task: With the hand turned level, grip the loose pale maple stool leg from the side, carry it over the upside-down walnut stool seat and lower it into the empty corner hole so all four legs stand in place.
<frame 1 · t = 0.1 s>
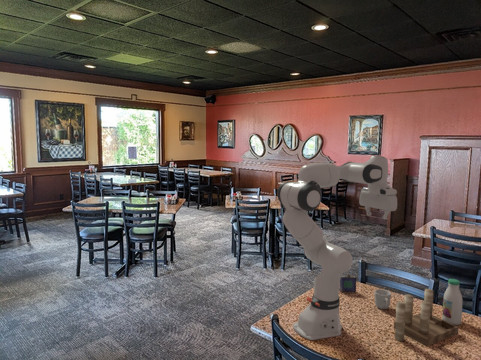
hand: (376, 217, 169), 48 cm above the table, tool pointing down, fingers open, 8 cm apart
loose leg: (399, 338, 149), on the table
flask: (347, 291, 197), on the table
milk bottle: (451, 321, 164), on the table
cup: (383, 308, 177), on the table
stool: (425, 330, 155), on the table
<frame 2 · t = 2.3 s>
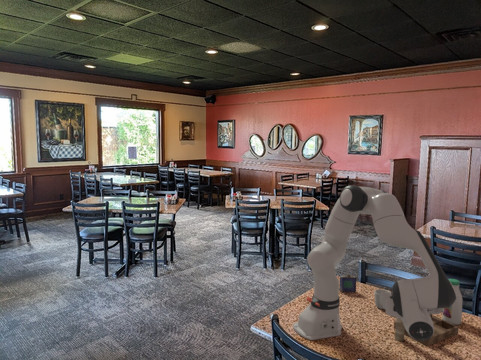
hand: (406, 293, 135), 25 cm above the table, tool horizontal, fingers open, 8 cm apart
nothing on the table moved.
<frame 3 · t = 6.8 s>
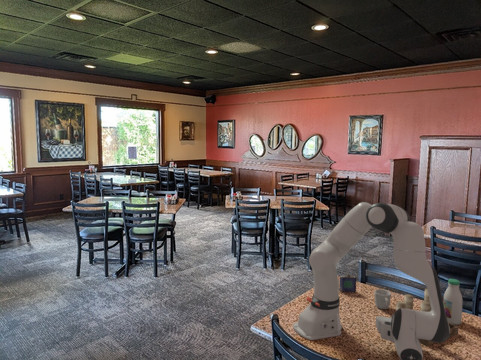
hand: (400, 317, 149), 9 cm above the table, tool horizontal, fingers closed on loose leg, 4 cm apart
loose leg: (399, 338, 149), on the table, touching gripper
everything else where it was.
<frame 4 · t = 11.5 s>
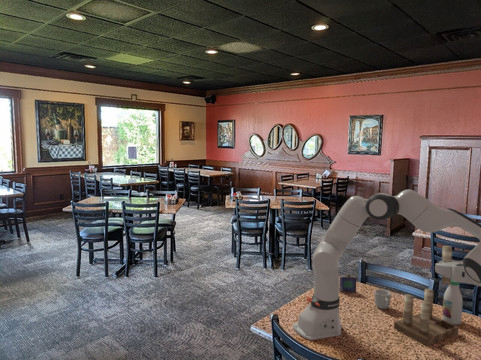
hand: (445, 262, 150), 32 cm above the table, tool horizontal, fingers closed on loose leg, 4 cm apart
loose leg: (446, 283, 150), point 23 cm above the table, touching gripper
everything else where it was.
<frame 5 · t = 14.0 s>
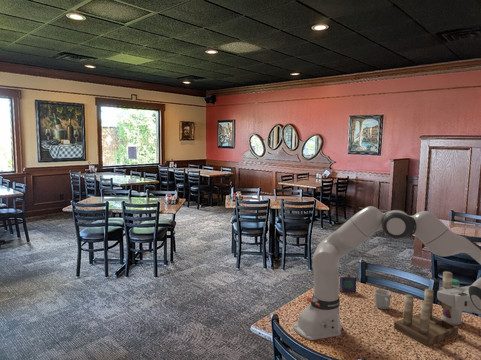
hand: (445, 287, 154), 20 cm above the table, tool horizontal, fingers closed on loose leg, 4 cm apart
loose leg: (446, 308, 153), point 11 cm above the table, touching gripper
everything else where it was.
when the fingers open (10 cm above the table, at t = 16.1 s): loose leg drops 1 cm, resting in stool.
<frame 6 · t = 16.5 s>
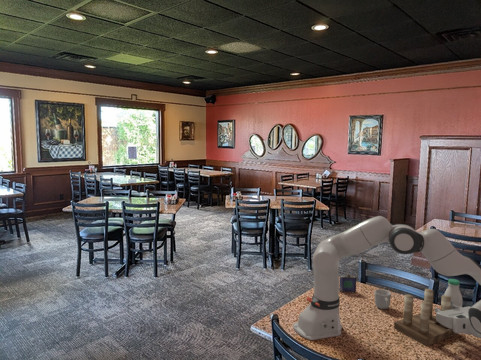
hand: (443, 307, 154), 10 cm above the table, tool horizontal, fingers open, 8 cm apart
loose leg: (444, 331, 154), resting in stool
everything else where it was.
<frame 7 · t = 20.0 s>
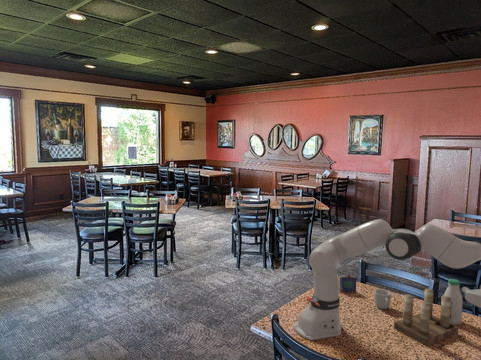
hand: (472, 287, 141), 25 cm above the table, tool horizontal, fingers open, 8 cm apart
nothing on the table moved.
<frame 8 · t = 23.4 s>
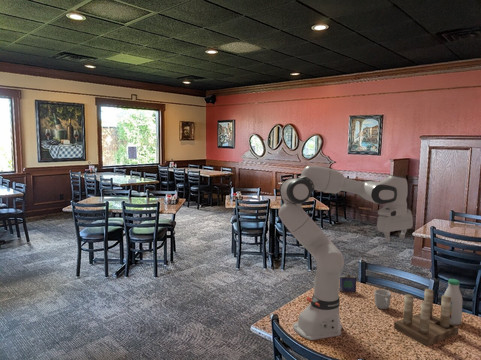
hand: (394, 239, 161), 39 cm above the table, tool pointing down, fingers open, 8 cm apart
nothing on the table moved.
at the end: loose leg 0.1 cm from the target spot, resting in stool; loose leg tilted 0°; the gripper is holding nothing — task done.
